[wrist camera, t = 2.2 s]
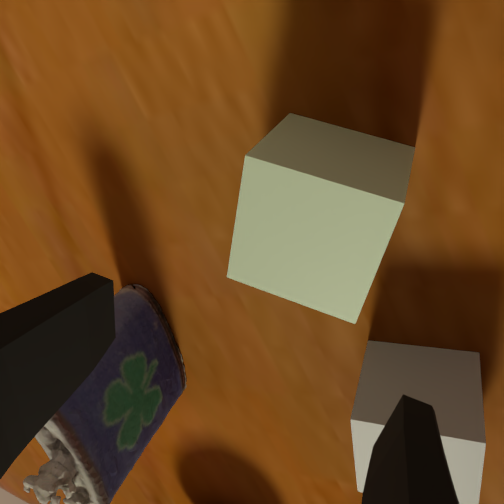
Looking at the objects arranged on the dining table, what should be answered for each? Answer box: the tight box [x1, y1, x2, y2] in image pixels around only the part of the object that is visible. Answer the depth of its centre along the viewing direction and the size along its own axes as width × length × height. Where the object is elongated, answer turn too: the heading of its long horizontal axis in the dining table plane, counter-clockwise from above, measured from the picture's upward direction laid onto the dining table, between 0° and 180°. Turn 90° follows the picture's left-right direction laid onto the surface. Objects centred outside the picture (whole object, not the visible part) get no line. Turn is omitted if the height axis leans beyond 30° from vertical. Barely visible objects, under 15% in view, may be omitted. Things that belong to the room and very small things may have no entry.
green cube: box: [227, 113, 415, 324], centre depth 17 cm, size 5×5×5 cm
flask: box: [23, 284, 186, 504], centre depth 24 cm, size 9×3×11 cm, turn 11°
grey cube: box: [351, 340, 486, 504], centre depth 21 cm, size 5×5×5 cm
